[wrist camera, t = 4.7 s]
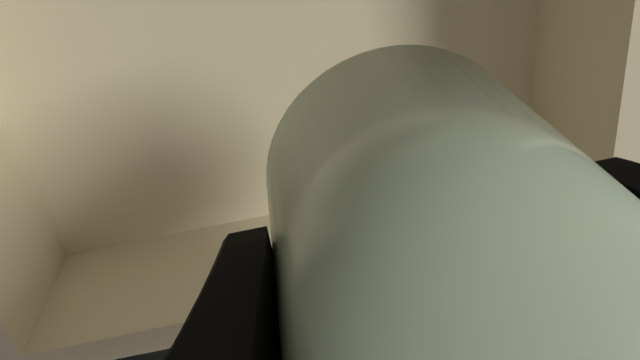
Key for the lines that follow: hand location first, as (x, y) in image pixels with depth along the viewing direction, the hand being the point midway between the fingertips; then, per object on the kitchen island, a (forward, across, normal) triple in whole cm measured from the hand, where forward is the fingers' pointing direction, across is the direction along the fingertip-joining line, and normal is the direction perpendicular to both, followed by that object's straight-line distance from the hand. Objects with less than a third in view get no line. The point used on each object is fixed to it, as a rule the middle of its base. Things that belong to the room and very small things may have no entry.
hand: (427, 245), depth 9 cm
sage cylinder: (+2, 0, 0) cm, 2 cm away
